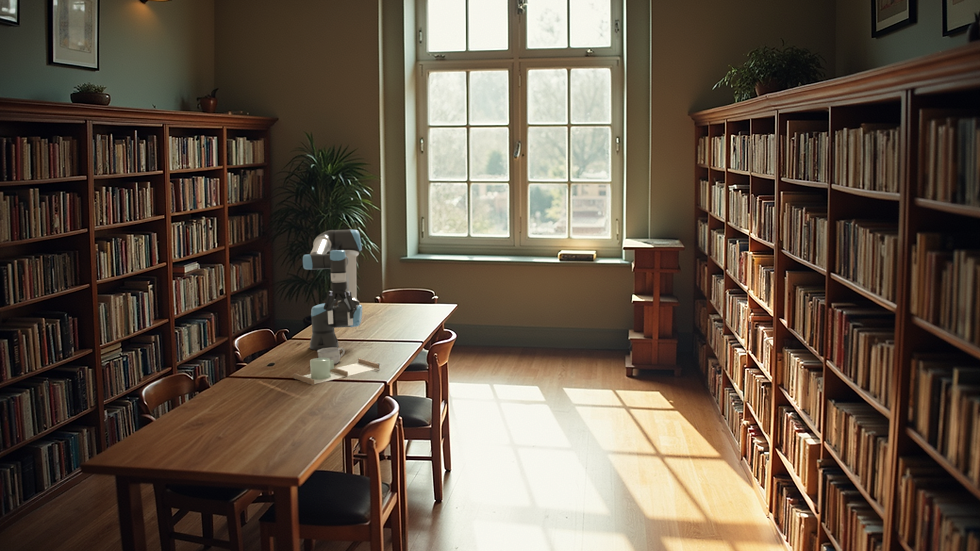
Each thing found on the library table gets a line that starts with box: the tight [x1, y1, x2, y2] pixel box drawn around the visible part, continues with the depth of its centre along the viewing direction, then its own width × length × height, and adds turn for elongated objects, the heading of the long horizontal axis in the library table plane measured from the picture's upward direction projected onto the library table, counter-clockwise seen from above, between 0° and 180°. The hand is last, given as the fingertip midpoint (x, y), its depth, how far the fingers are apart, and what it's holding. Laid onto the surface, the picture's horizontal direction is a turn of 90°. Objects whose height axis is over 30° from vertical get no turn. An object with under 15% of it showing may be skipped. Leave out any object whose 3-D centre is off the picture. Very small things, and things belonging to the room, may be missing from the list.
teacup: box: [316, 347, 346, 365], centre depth 412 cm, size 14×11×8 cm
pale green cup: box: [309, 357, 335, 380], centre depth 387 cm, size 9×12×8 cm
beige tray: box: [293, 358, 381, 386], centre depth 393 cm, size 16×37×3 cm, turn 134°
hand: (340, 324), depth 413 cm, fingers open, 13 cm apart
